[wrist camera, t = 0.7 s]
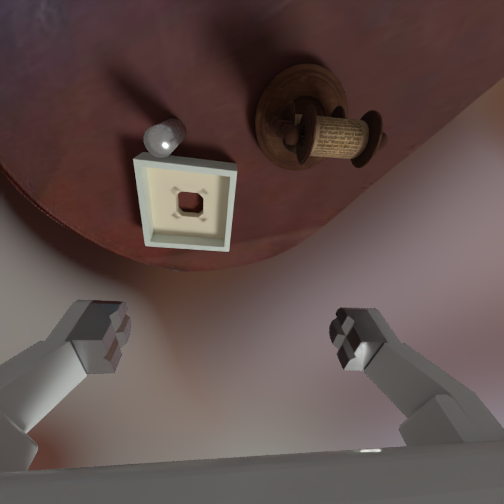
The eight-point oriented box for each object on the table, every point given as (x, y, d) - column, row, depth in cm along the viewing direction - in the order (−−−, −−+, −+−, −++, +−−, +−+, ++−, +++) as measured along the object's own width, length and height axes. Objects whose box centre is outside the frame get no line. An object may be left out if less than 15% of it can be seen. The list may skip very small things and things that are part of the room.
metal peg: (162, 116, 37) (141, 124, 28) (186, 119, 38) (172, 128, 29) (164, 140, 39) (145, 155, 30) (186, 143, 40) (174, 159, 31)
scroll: (250, 164, 42) (264, 210, 26) (257, 59, 34) (284, 31, 18) (328, 168, 44) (386, 214, 28) (353, 70, 36) (458, 52, 19)
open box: (142, 151, 40) (133, 158, 36) (236, 163, 42) (237, 171, 38) (152, 232, 49) (145, 245, 44) (228, 238, 51) (228, 251, 47)
